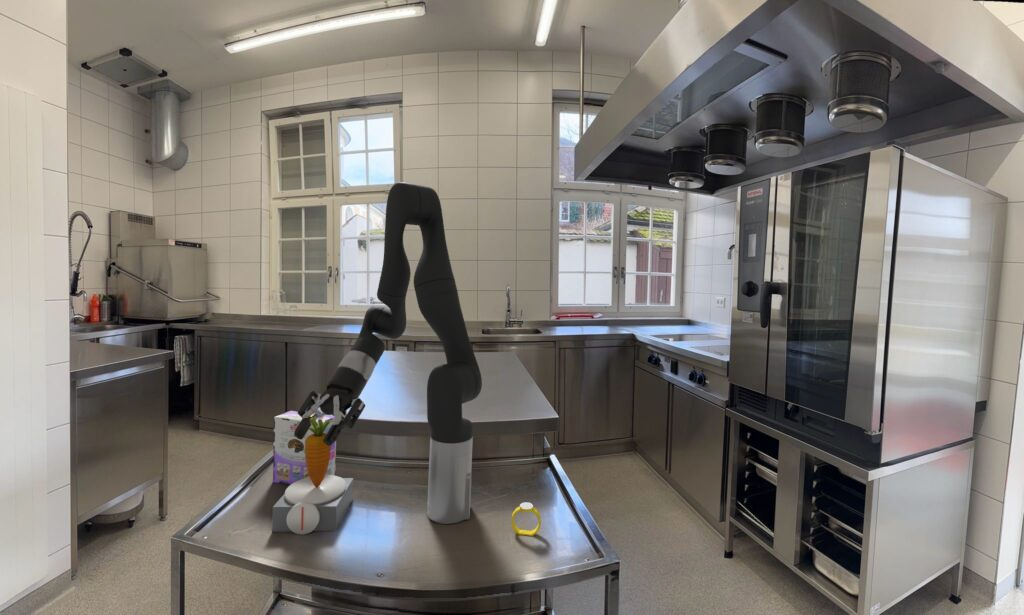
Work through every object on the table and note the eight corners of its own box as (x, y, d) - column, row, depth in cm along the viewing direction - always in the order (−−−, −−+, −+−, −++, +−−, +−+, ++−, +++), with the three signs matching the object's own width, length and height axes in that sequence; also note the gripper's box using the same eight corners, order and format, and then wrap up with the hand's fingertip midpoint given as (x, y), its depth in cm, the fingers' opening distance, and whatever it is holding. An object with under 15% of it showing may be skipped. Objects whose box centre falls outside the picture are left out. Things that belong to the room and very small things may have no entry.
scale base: (352, 499, 92) (353, 473, 92) (333, 534, 79) (334, 504, 79) (297, 499, 91) (298, 473, 91) (269, 535, 78) (269, 505, 78)
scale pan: (352, 478, 92) (352, 474, 92) (335, 505, 80) (335, 501, 80) (298, 478, 91) (298, 474, 91) (274, 506, 79) (274, 502, 79)
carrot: (335, 485, 87) (336, 416, 86) (315, 495, 82) (316, 423, 82) (318, 479, 89) (320, 412, 88) (298, 489, 85) (300, 418, 84)
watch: (511, 537, 82) (510, 508, 81) (512, 529, 84) (511, 501, 84) (540, 538, 81) (540, 509, 81) (541, 530, 84) (540, 502, 84)
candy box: (336, 480, 101) (338, 415, 100) (320, 491, 95) (322, 423, 94) (289, 472, 104) (291, 409, 103) (271, 482, 98) (272, 416, 98)
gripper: (319, 362, 94) (274, 426, 83) (371, 368, 89) (330, 438, 79) (335, 380, 99) (295, 443, 89) (385, 387, 94) (348, 454, 84)
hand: (311, 440), depth 84 cm, fingers open, 7 cm apart
